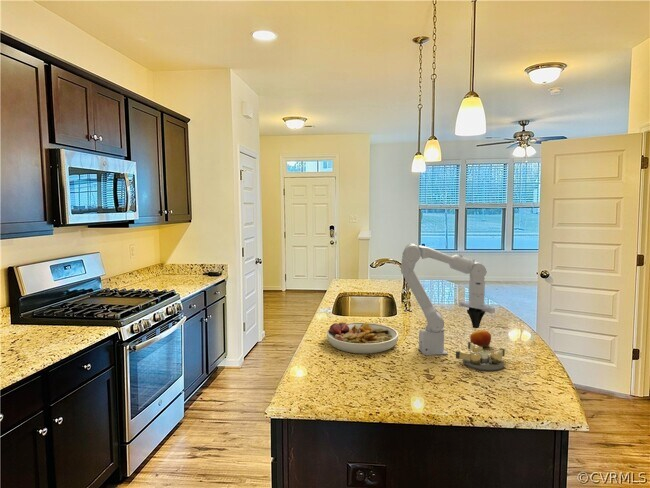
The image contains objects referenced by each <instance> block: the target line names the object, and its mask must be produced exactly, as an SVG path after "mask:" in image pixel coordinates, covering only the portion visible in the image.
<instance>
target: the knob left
mask: <svg viewBox="0 0 650 488" xmlns="http://www.w3.org/2000/svg"><path fill="white" fill-rule="evenodd" d="M455 359H458V360H463V359H464V360H469V361H470V363H472V364H481V354H480V353H477V352H472V351H469V352H466V351H462V350H456V351H455Z"/></svg>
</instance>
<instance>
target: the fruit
mask: <svg viewBox="0 0 650 488" xmlns="http://www.w3.org/2000/svg"><path fill="white" fill-rule="evenodd" d="M469 338H470V342H472V343H473V344H474V345H477V346H481V347H483V348H490V344H491V341H492V335H491V333H490V332H489V331H488V330H485V329H478V330H474V331H473V332H472V333H471V334H470V337H469Z"/></svg>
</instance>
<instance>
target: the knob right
mask: <svg viewBox="0 0 650 488" xmlns="http://www.w3.org/2000/svg"><path fill="white" fill-rule="evenodd" d="M505 351H506V348H503V347H502V348H499V350H496V351H491V352H490V355H491V362H493V363H497V364H499V363H502V361H503V358H504V357H505V355H506V352H505Z"/></svg>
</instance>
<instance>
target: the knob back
mask: <svg viewBox="0 0 650 488" xmlns="http://www.w3.org/2000/svg"><path fill="white" fill-rule="evenodd" d="M467 349H468V350H470V352H477V351H484V350H483V349H484V347H481V346H477V345H474V344H473V343H472V342H471V341H468V342H467Z"/></svg>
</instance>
